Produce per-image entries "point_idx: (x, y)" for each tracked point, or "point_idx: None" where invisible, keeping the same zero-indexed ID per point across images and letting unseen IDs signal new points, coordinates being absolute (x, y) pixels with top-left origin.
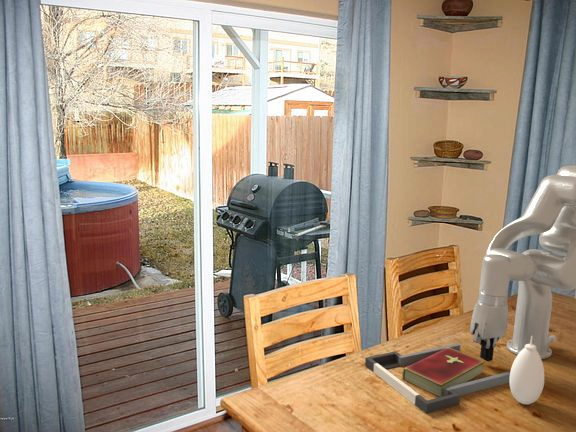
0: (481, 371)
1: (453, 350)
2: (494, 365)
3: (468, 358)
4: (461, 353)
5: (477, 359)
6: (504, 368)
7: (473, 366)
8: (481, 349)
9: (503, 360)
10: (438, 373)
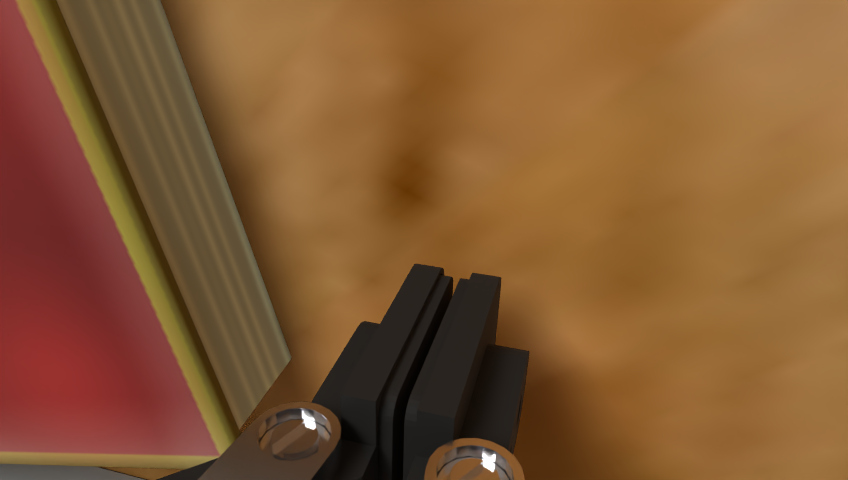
0: (279, 369)
1: (5, 21)
2: (573, 348)
3: (91, 321)
4: (78, 169)
5: (190, 396)
6: (614, 445)
7: (47, 452)
8: (323, 388)
9: (841, 342)
10: None
